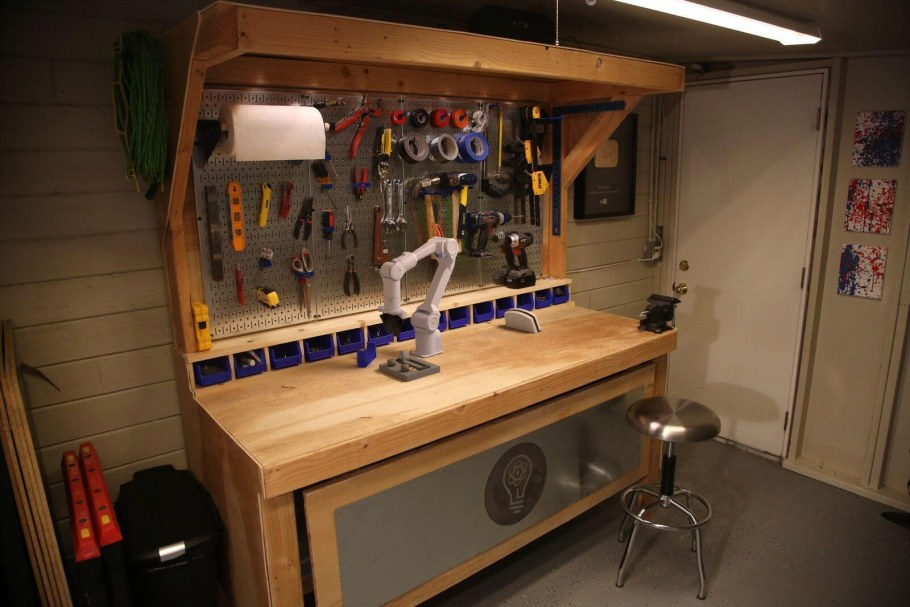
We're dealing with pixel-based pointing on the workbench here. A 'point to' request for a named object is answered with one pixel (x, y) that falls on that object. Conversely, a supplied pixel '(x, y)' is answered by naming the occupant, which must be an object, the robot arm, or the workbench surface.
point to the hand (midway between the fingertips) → (392, 334)
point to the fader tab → (404, 355)
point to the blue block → (366, 355)
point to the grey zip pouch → (522, 320)
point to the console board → (409, 368)
